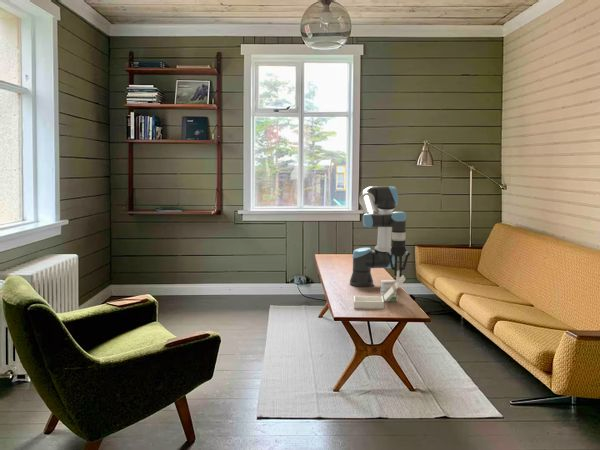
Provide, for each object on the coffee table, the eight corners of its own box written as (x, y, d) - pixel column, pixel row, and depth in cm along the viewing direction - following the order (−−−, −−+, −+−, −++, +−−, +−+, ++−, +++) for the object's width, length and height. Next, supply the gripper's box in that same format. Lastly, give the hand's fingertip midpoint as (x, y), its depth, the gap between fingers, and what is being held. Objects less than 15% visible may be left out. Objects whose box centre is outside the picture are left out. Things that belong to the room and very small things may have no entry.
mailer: (353, 302, 355) (353, 295, 355) (382, 303, 354) (382, 296, 354) (354, 308, 343) (354, 301, 342) (383, 308, 342) (383, 301, 341)
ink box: (393, 299, 364) (394, 279, 362) (396, 301, 359) (397, 281, 358) (379, 299, 362) (380, 279, 361) (382, 301, 357) (382, 281, 356)
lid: (402, 274, 351) (403, 275, 351) (383, 295, 353) (384, 295, 353) (405, 279, 339) (405, 279, 339) (384, 300, 341) (385, 300, 341)
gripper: (387, 240, 340) (386, 283, 342) (411, 240, 339) (410, 283, 341) (386, 238, 347) (385, 280, 350) (409, 239, 346) (408, 280, 349)
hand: (397, 282), depth 345 cm, fingers closed
